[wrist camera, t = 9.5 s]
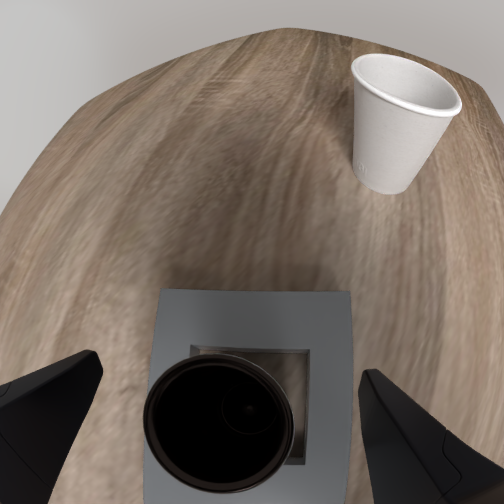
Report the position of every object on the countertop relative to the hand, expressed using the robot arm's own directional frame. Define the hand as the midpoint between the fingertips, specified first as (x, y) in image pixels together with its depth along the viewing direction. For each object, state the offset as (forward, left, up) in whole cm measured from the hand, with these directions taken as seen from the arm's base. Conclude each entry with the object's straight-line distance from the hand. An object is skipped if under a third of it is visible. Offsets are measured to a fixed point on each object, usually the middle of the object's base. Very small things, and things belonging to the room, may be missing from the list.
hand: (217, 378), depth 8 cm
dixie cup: (+18, -11, -10) cm, 23 cm away
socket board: (-3, 0, -10) cm, 10 cm away
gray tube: (-2, 0, -10) cm, 10 cm away
